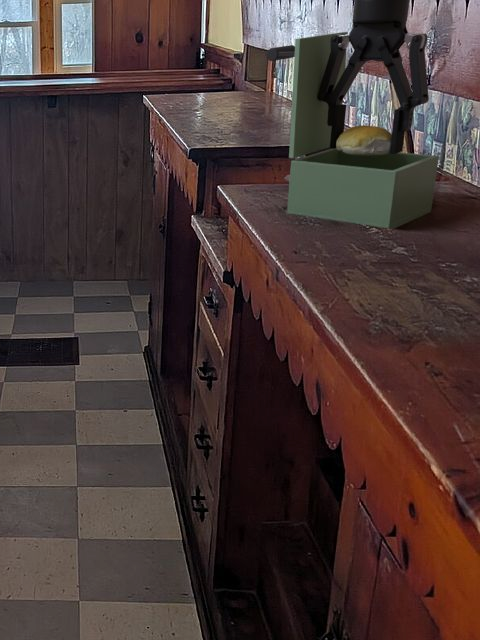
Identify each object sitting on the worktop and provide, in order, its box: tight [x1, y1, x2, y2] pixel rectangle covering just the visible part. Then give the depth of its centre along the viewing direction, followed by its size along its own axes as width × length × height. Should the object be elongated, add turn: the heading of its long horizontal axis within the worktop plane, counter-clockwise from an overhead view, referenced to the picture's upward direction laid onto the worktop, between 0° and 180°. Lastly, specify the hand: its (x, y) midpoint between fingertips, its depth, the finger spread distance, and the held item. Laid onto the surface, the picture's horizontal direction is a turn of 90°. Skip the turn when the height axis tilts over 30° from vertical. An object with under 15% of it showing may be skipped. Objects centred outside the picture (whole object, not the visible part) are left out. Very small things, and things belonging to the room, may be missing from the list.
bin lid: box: [266, 31, 349, 159], centre depth 141 cm, size 18×15×8 cm
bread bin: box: [286, 148, 440, 230], centre depth 137 cm, size 17×15×9 cm
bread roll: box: [336, 124, 392, 156], centre depth 135 cm, size 8×9×4 cm
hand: (365, 149), depth 135 cm, fingers closed on bread roll, 9 cm apart
